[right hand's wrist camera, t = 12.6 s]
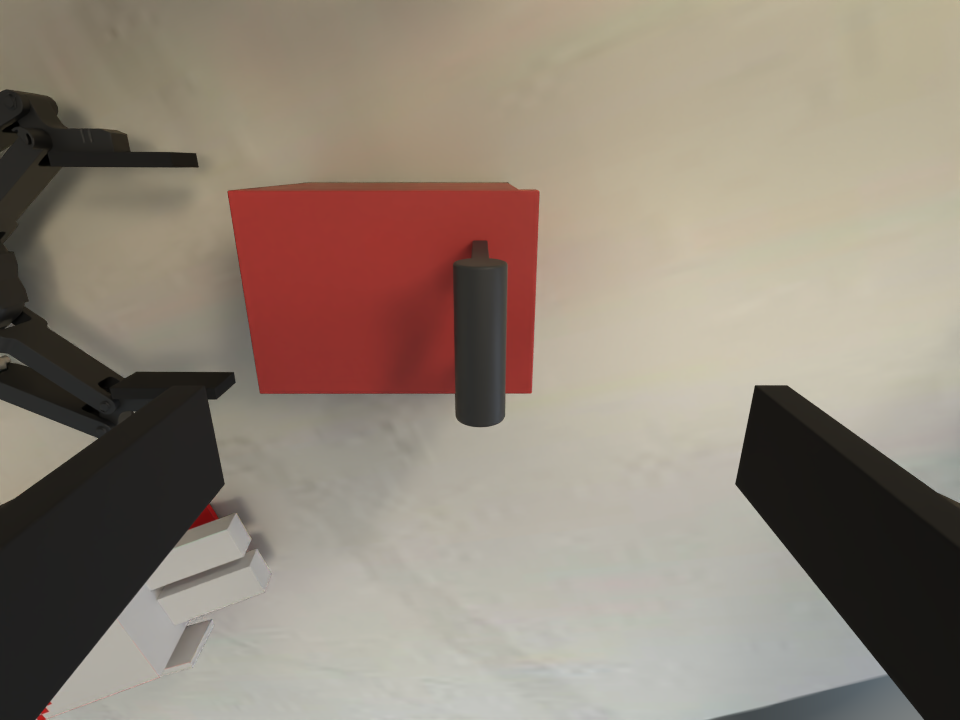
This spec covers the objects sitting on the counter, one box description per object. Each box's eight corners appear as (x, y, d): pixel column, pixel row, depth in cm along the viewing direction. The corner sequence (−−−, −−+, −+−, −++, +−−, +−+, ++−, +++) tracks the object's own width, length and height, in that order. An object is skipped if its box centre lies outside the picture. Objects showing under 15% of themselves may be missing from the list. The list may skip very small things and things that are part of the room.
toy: (265, 666, 38) (-137, 814, 37) (301, 547, 50) (2, 656, 50) (181, 534, 34) (-270, 698, 33) (243, 441, 46) (-83, 558, 46)
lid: (537, 189, 25) (566, 201, 17) (529, 385, 28) (550, 476, 20) (237, 189, 25) (116, 201, 17) (267, 385, 28) (180, 476, 20)
